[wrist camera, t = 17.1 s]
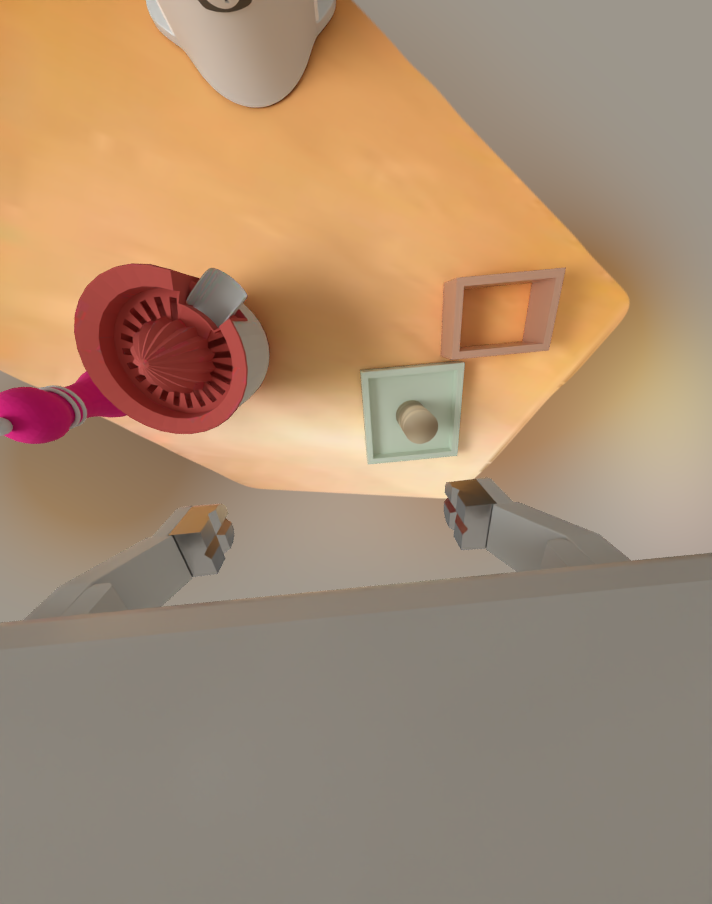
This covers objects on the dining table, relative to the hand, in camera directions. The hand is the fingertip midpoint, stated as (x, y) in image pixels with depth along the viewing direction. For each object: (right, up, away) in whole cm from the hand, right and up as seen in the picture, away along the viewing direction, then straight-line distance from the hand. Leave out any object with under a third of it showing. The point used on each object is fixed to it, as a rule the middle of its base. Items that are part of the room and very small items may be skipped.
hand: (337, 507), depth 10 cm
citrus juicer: (-18, +19, +31) cm, 41 cm away
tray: (+10, +9, +37) cm, 40 cm away
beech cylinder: (+10, +8, +37) cm, 39 cm away
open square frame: (+21, +23, +31) cm, 44 cm away
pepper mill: (-35, +13, +34) cm, 50 cm away
